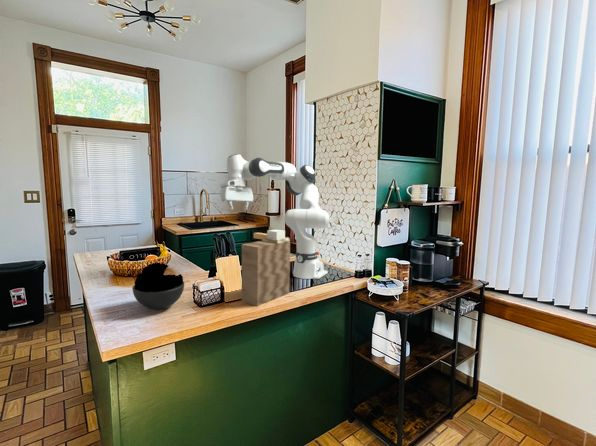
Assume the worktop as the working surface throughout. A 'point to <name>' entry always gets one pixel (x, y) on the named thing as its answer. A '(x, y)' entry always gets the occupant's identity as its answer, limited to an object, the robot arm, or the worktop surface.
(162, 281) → the dark grey bowl
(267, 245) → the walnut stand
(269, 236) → the mallet
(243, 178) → the robot arm
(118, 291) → the worktop surface
